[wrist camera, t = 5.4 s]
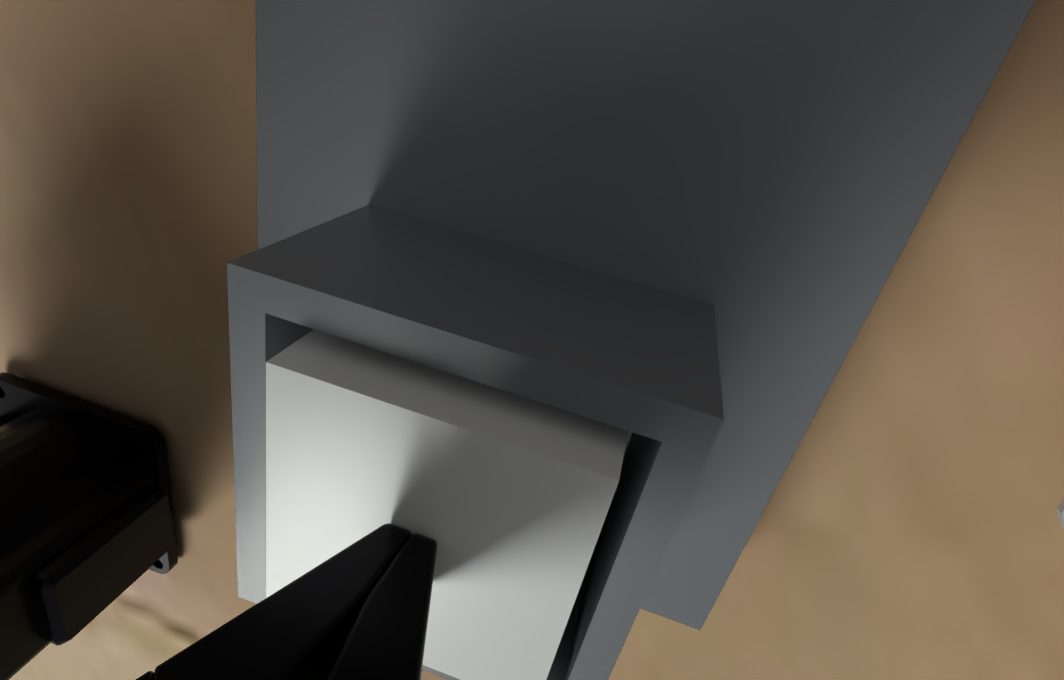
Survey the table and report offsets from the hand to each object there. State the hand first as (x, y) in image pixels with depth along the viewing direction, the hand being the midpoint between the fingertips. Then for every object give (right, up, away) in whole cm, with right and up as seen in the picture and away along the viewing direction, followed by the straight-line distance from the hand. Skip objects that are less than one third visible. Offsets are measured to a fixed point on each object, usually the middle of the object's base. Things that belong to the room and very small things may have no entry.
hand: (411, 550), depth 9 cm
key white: (+1, +1, +3) cm, 3 cm away
